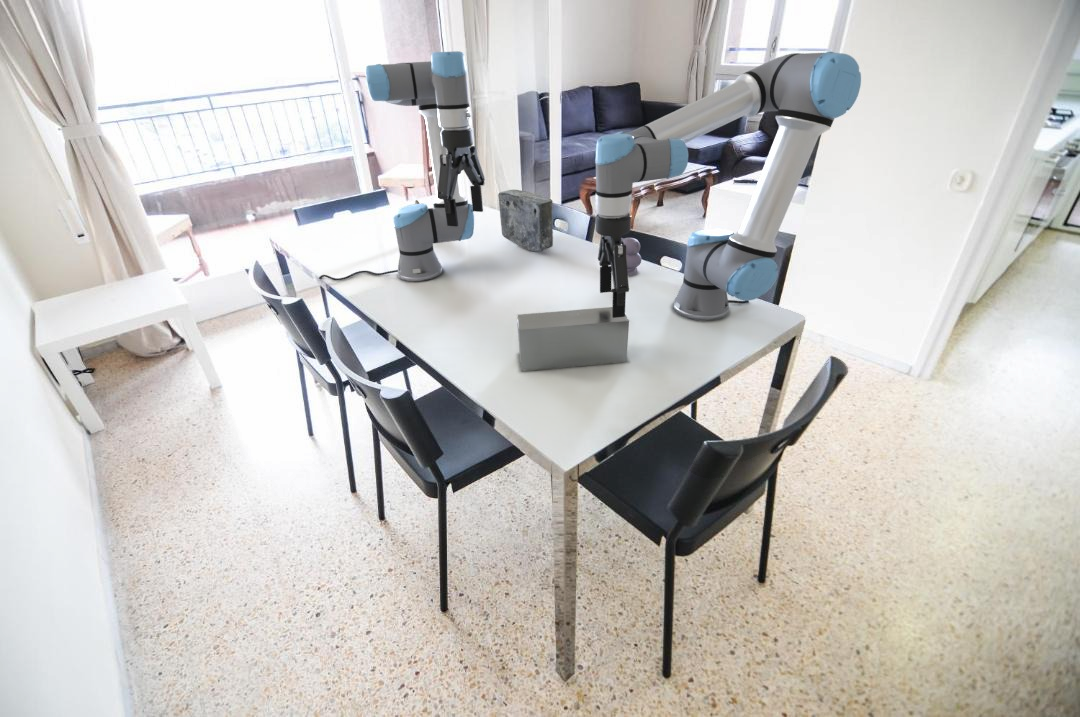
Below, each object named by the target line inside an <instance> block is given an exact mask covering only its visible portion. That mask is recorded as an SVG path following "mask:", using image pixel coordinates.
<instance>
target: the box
mask: <svg viewBox="0 0 1080 717" xmlns="http://www.w3.org/2000/svg"><path fill="white" fill-rule="evenodd" d="M516 325H517V338H518V339H517V340H518V351H519V352H518V354H519V362H520V368H521V372H531V371H532V372H533V371H543V370H555V369H565V368H576V367H577V368H578V367H588V366H597V365H598V366H599V365H610V364H620V363H627V360H628V344H629V333H630V332H629V331H630V319H629V318H628V316H627V315H626V313H625V317H617V318H613V317H612V306H610V307H609V306H608V307H607V306H606V307H595V308H584V309H583V308H582V309H571V310H560V311H546V312H533V313H521V314H516Z"/></svg>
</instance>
